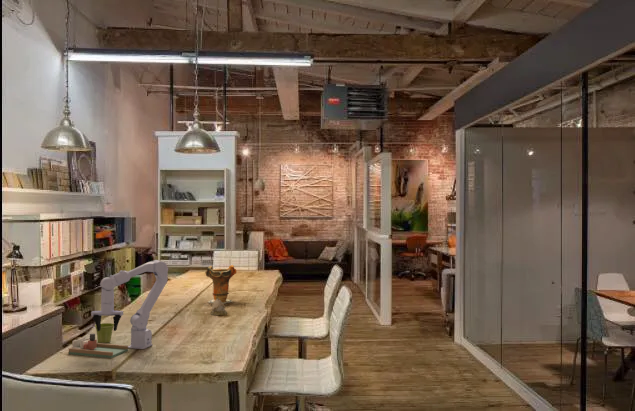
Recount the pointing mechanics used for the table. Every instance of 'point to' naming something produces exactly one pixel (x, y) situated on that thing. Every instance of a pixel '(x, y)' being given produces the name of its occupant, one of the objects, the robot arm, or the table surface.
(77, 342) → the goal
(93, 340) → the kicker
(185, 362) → the table surface
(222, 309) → the ceramic model
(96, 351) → the pitch
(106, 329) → the plant pot
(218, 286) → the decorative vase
